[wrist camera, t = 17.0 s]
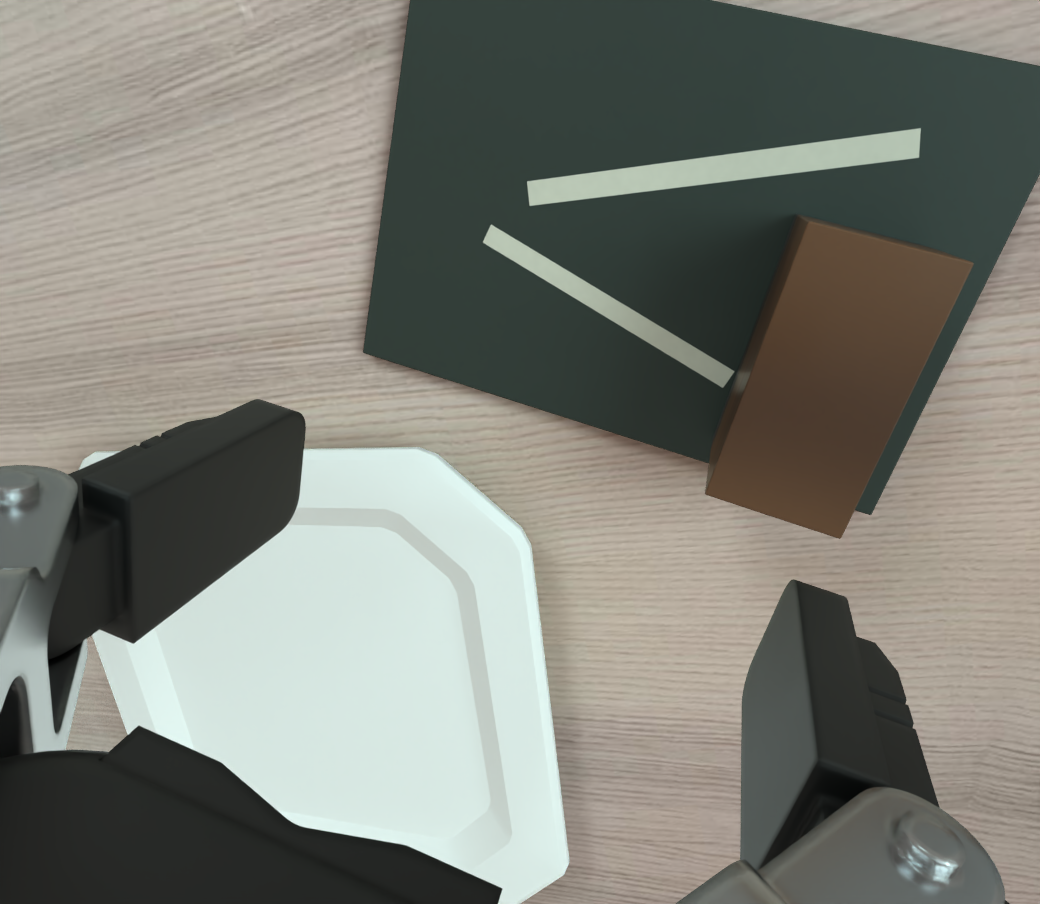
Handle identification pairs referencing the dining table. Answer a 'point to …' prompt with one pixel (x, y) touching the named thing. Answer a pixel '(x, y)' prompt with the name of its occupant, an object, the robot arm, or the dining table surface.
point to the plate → (373, 670)
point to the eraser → (829, 370)
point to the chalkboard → (668, 194)
